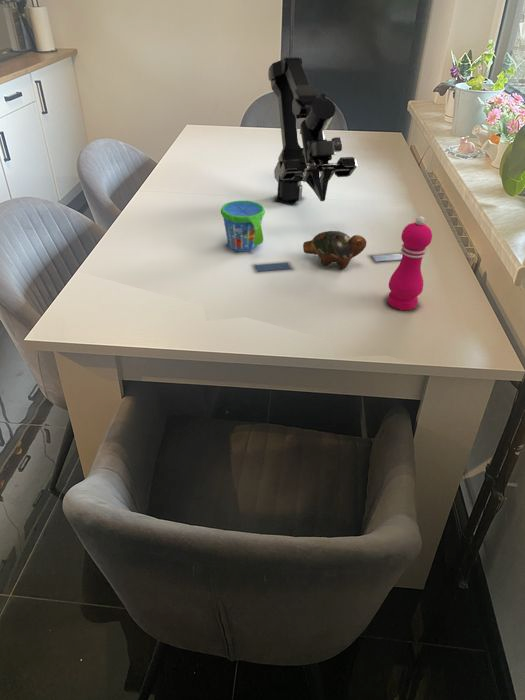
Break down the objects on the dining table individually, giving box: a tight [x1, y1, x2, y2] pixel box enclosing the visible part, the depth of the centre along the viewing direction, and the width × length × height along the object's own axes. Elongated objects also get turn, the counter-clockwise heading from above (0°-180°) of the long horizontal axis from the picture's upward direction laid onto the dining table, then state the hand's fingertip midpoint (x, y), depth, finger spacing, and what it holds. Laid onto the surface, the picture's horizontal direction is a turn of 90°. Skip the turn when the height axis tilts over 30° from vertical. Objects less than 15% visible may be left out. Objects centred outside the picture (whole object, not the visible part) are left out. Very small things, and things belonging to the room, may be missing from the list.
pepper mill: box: [387, 215, 433, 311], centre depth 113 cm, size 7×7×20 cm
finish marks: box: [255, 253, 402, 273], centre depth 133 cm, size 3×38×1 cm, turn 103°
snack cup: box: [220, 200, 266, 252], centre depth 136 cm, size 16×10×10 cm
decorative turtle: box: [302, 230, 367, 270], centre depth 131 cm, size 10×15×8 cm, turn 80°
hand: (322, 200), depth 135 cm, fingers closed
